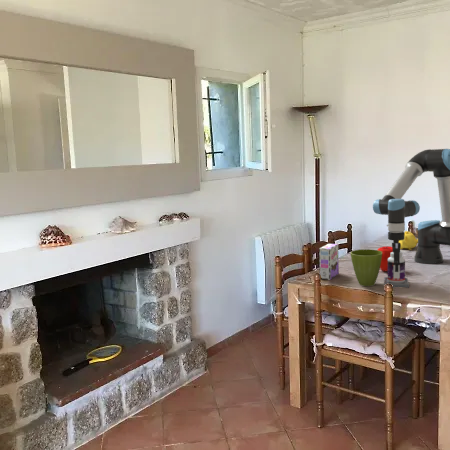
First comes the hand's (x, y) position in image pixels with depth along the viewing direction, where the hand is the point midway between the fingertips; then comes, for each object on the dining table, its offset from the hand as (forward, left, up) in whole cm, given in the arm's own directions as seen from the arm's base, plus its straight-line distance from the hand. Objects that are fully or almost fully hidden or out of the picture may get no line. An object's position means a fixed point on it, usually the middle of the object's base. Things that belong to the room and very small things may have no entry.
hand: (396, 274), depth 245 cm
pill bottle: (0, 0, -4) cm, 4 cm away
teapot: (-9, -86, -5) cm, 87 cm away
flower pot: (+14, +1, -5) cm, 15 cm away
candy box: (+33, -11, -5) cm, 35 cm away
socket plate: (0, 0, -5) cm, 5 cm away
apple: (+4, -26, -5) cm, 27 cm away
